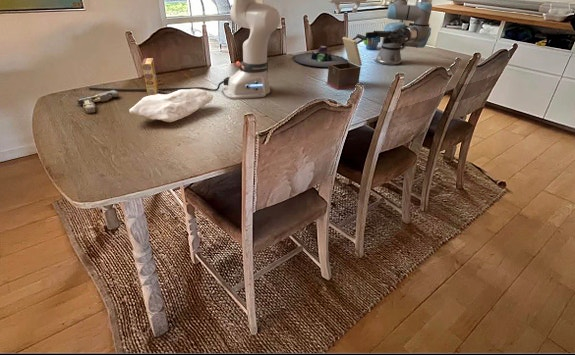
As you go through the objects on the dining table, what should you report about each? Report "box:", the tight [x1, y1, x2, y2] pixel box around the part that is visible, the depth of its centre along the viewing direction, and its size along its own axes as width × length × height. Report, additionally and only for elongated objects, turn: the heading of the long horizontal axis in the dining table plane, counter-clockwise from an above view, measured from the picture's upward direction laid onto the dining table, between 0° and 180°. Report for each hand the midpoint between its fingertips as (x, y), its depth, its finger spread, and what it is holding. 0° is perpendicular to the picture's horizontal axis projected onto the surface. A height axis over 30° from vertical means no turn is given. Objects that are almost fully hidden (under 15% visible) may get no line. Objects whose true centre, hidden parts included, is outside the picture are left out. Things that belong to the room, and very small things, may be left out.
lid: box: [342, 33, 367, 67], centre depth 182 cm, size 13×10×9 cm
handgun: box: [76, 90, 120, 114], centre depth 155 cm, size 3×18×15 cm
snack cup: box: [363, 37, 382, 50], centre depth 257 cm, size 16×10×10 cm
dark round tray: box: [291, 45, 349, 68], centre depth 225 cm, size 35×35×9 cm
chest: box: [326, 61, 362, 90], centre depth 186 cm, size 13×10×10 cm
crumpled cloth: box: [129, 89, 214, 123], centre depth 147 cm, size 24×35×9 cm
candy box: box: [141, 57, 160, 96], centre depth 163 cm, size 9×4×15 cm, turn 13°
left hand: (346, 13), depth 169 cm, fingers open, 8 cm apart
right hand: (374, 38), depth 184 cm, fingers open, 13 cm apart
